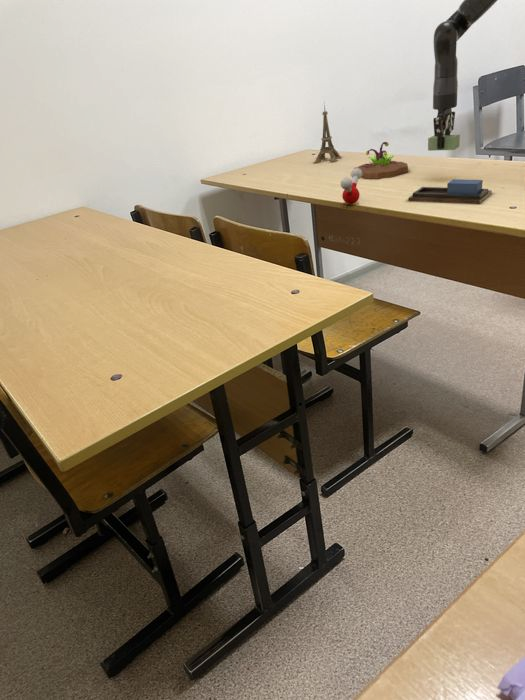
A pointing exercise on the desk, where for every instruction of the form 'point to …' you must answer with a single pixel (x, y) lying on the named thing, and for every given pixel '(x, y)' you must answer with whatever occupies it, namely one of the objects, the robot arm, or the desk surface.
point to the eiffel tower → (330, 148)
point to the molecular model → (351, 187)
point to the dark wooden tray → (447, 196)
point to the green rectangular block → (449, 142)
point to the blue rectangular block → (464, 186)
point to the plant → (382, 166)
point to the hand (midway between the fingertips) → (443, 146)
